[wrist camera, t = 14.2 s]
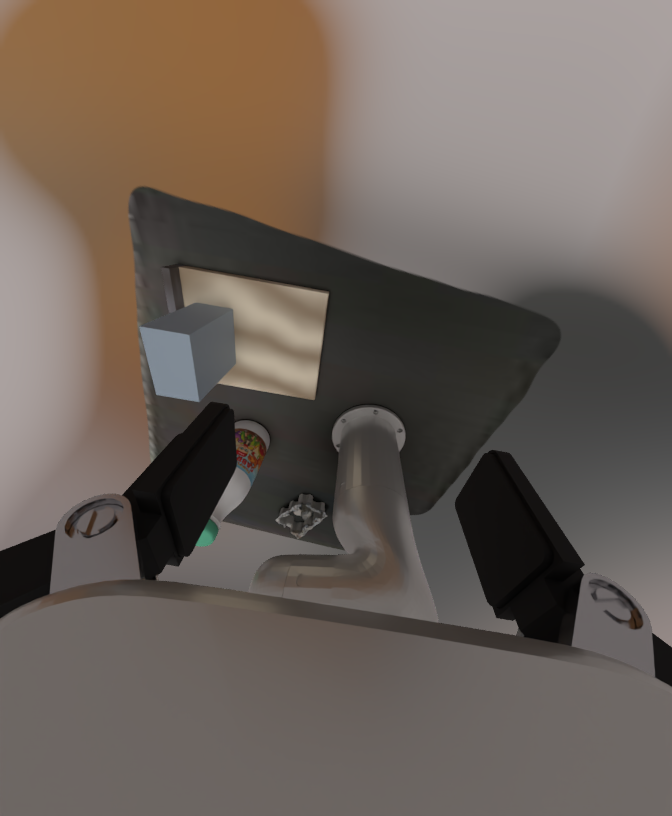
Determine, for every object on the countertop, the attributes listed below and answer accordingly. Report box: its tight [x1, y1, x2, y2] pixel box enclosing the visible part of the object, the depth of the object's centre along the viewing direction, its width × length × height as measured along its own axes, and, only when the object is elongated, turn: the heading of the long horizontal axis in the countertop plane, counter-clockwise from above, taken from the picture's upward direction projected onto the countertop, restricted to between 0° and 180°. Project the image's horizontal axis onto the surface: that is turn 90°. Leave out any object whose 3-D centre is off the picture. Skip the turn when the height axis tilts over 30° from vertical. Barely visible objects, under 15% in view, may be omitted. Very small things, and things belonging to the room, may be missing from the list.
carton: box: [139, 303, 236, 402], centre depth 34 cm, size 8×5×11 cm, turn 172°
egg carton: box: [276, 494, 328, 539], centre depth 59 cm, size 11×8×4 cm
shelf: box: [161, 264, 329, 400], centre depth 38 cm, size 16×20×4 cm
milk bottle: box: [195, 420, 270, 546], centre depth 42 cm, size 8×8×20 cm
